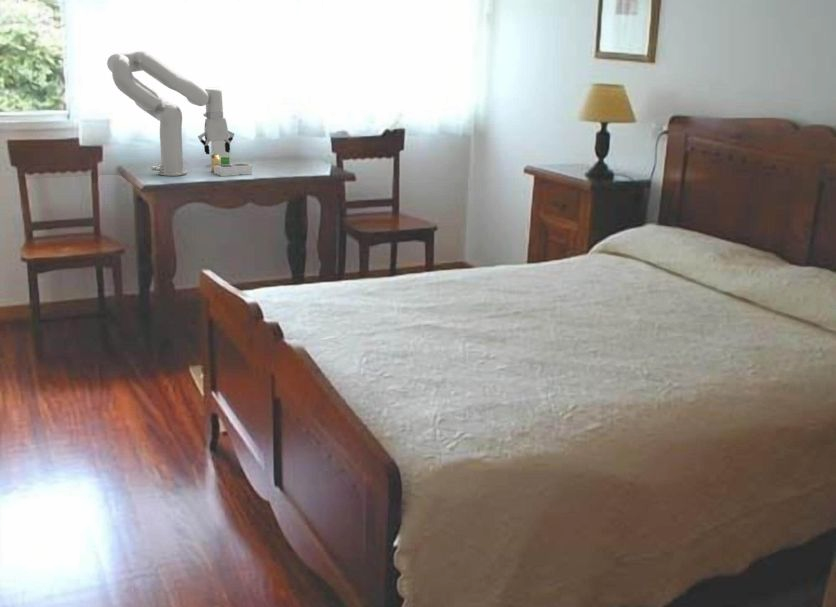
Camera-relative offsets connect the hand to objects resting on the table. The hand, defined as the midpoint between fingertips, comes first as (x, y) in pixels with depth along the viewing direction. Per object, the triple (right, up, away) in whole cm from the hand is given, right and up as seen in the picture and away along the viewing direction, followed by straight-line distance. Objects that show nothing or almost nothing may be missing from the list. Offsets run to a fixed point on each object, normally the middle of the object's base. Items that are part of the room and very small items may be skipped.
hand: (217, 153), depth 429 cm
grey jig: (+8, -10, -3) cm, 13 cm away
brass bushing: (-1, -8, +2) cm, 9 cm away
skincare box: (-3, -3, +22) cm, 22 cm away
